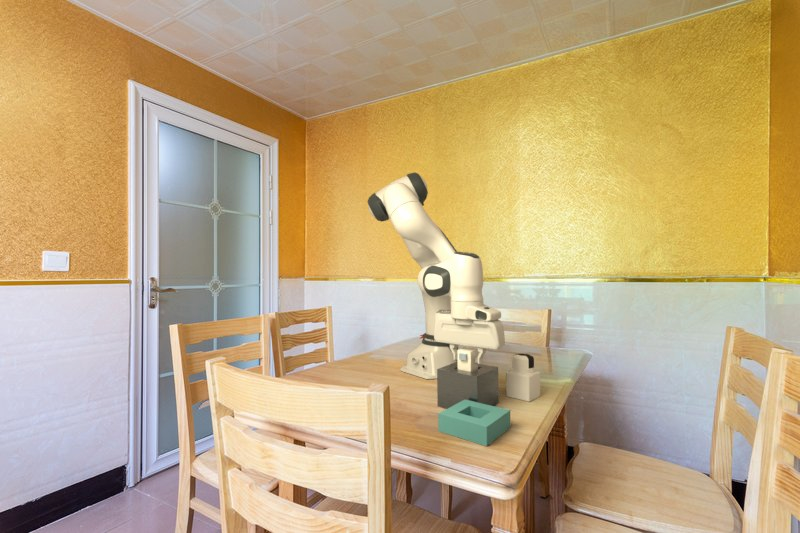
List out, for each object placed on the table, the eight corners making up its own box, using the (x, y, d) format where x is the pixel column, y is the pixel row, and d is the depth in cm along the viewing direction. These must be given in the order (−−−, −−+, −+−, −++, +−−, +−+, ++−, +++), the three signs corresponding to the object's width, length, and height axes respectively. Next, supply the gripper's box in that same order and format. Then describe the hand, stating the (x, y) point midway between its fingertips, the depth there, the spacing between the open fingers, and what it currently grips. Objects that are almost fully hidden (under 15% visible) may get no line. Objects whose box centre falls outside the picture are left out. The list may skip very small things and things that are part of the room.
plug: (456, 383, 102) (455, 350, 102) (465, 379, 106) (464, 347, 106) (469, 386, 99) (469, 352, 99) (478, 382, 103) (477, 349, 103)
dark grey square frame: (437, 406, 102) (437, 369, 102) (460, 394, 111) (459, 360, 111) (477, 416, 94) (477, 376, 94) (498, 403, 103) (498, 366, 104)
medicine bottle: (518, 390, 114) (517, 351, 114) (540, 396, 109) (540, 354, 109) (505, 396, 109) (505, 354, 109) (529, 402, 104) (528, 358, 104)
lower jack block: (438, 431, 86) (438, 413, 86) (465, 415, 95) (464, 399, 95) (486, 446, 78) (486, 427, 79) (510, 427, 88) (510, 410, 88)
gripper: (429, 309, 107) (429, 358, 107) (496, 314, 94) (497, 370, 94) (441, 308, 112) (442, 354, 112) (507, 312, 99) (507, 365, 99)
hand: (467, 362), depth 103 cm, fingers open, 5 cm apart
